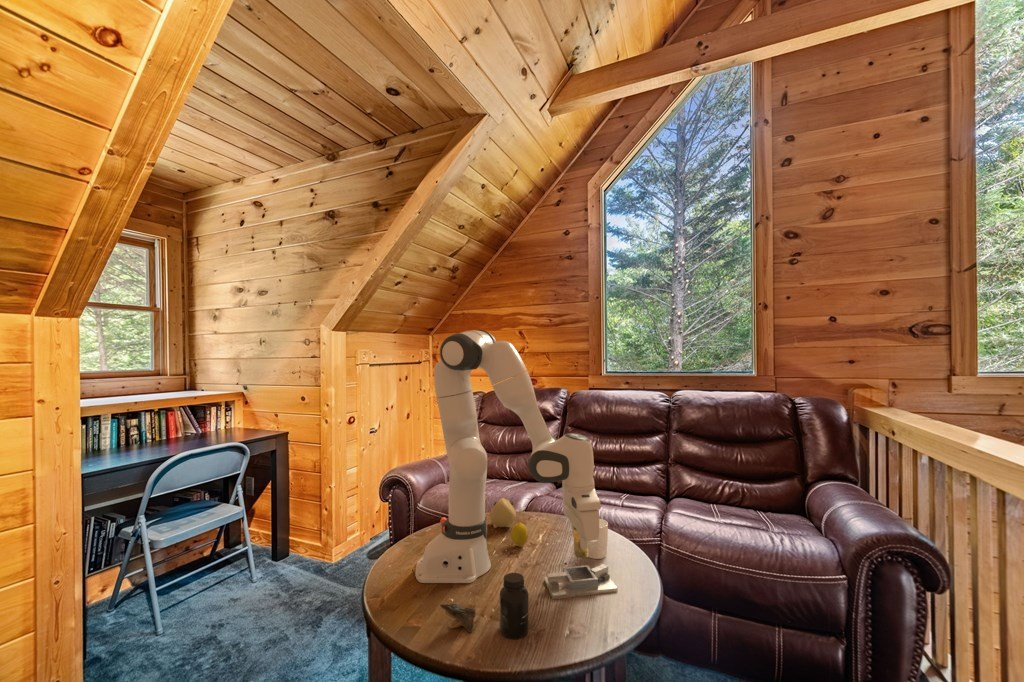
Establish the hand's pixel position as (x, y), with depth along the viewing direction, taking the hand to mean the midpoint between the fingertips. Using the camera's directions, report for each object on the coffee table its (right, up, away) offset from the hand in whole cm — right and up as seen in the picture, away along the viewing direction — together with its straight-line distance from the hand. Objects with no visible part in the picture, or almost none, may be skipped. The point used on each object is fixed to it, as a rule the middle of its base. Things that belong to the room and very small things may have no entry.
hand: (580, 543), depth 115 cm
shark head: (-32, -12, -17) cm, 38 cm away
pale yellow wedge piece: (-22, -13, +40) cm, 48 cm away
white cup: (+8, -12, +18) cm, 23 cm away
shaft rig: (0, -12, 0) cm, 12 cm away
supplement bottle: (-18, -12, -18) cm, 28 cm away
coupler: (0, -3, 0) cm, 3 cm away
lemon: (-16, -13, +24) cm, 32 cm away
